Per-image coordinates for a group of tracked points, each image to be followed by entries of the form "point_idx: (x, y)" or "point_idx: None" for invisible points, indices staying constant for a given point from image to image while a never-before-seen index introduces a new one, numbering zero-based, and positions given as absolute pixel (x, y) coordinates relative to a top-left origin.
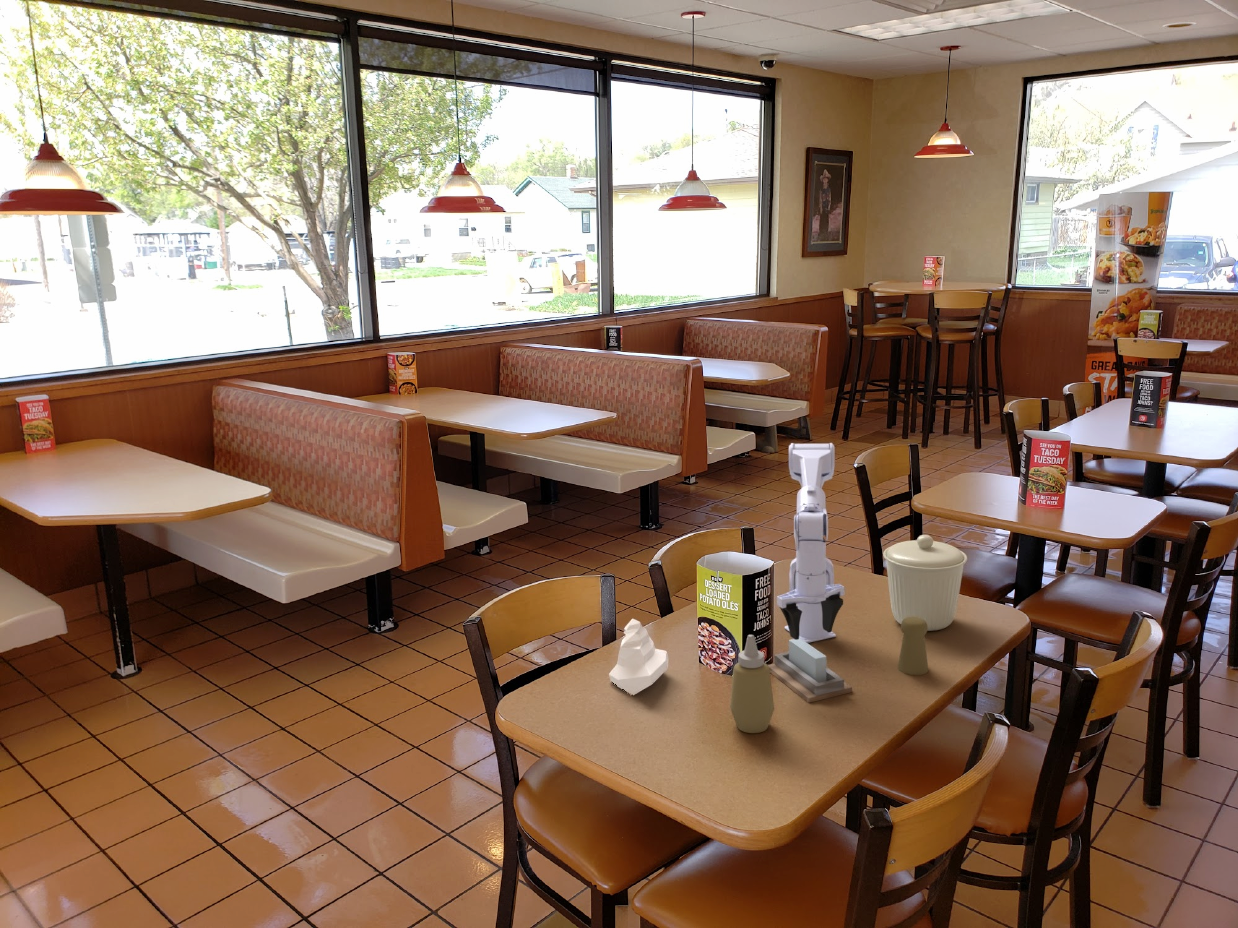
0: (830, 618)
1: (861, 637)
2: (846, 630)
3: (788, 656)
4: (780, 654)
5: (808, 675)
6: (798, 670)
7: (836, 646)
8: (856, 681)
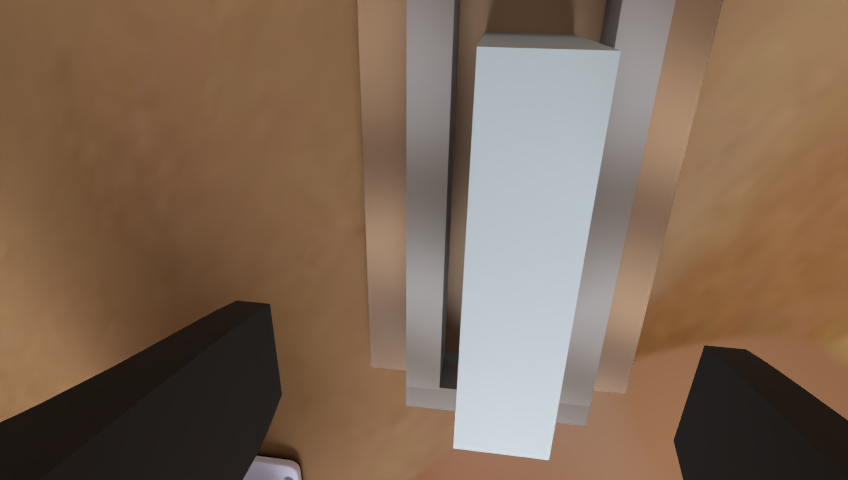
0: (131, 428)
1: (53, 388)
2: None
3: None
4: None
5: None
6: (610, 199)
7: None
8: (265, 25)
